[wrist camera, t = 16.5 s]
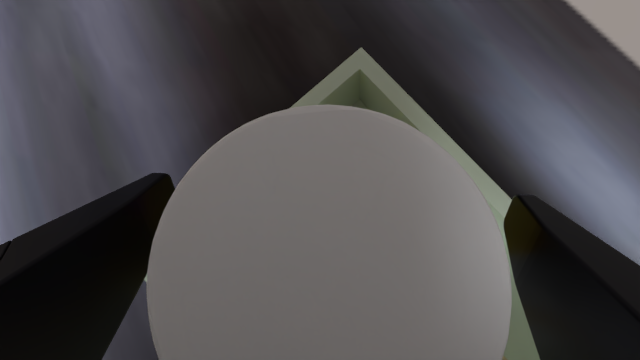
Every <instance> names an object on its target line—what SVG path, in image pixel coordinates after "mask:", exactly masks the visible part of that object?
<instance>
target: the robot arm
mask: <svg viewBox="0 0 640 360" xmlns="http://www.w3.org/2000/svg"><path fill="white" fill-rule="evenodd" d="M174 191H175V188H174V185H173V182H172V179H171V177H170V176H169V175H168V174H166V173H152V174H149V175H147V176H145V177H143V178H141V179H139V180H137V181H135V182H133V183H130V184H128V185H126V186H124V187H122V188H120V189H118V190H116V191H114V192H111V193H109V194H107V195H105V196H103V197H101V198H99V199H97V200H95V201H92V202H90V203H88V204H86V205H84V206H82V207H80V208H78V209H76V210H73V211H71V212H69V213H67V214H65V215H63V216H61V217H59V218H57V219H54V220H52V221H50V222H48V223H46V224H44V225H42V226H40V227H38V228H35V229H33V230H31V231H29V232H27V233H25V234H23V235H21V236H19V237H16V238H14V239H13V240H12V241H8V242H6V243H4V244H1V245H0V360H102V358H103V356H104V354H105V352H106V350H107V349H108V347H109V345H110V343H111V341H112V339H113V337H114V335H115V333H116V332H117V330H118V328H119V326H120V324H121V322H122V320H123V318H124V316H125V315H126V313H127V311H128V309H129V307H130V305H131V303H132V301H133V299H134V297H135V296H136V294H137V292H138V290H139V288H140V286H141V284H142V282H143V280H144V279H145V277H146V275H147V271H148V264H149V257H150V252H151V247H152V242H153V238H154V236H155V233H156V230H157V227H158V224H159V221H160V219H161V216H162V214H163V211H164V209H165V207H166V205H167V203H168V201H169V199H170V198H171V196H172V194H173V192H174ZM503 225H504V232H505V237H506V242H507V247H508V253H509V258H510V263H511V268H512V273H513V277H514V281H515V285H516V288H517V292H518V295H519V298H520V301H521V304H522V307H523V310H524V313H525V316H526V319H527V322H528V325H529V328H530V331H531V334H532V337H533V340H534V343H535V346H536V349H537V352H538V355H539V358H540V360H640V265H638V264H637V263H635V262H634V261H632V260H631V259H629V258H628V257H626V256H625V255H623V254H622V253H620V252H619V251H617V250H616V249H614V248H613V247H611V246H610V245H608V244H607V243H605V242H604V241H602V240H601V239H599V238H598V237H596V236H595V235H593V234H592V233H590V232H589V231H587V230H586V229H584V228H583V227H581V226H580V225H578V224H577V223H575V222H574V221H572V220H571V219H569V218H568V217H566V216H565V215H563V214H562V213H560V212H558V211H557V210H555V209H554V208H552V207H551V206H549V205H548V204H546V203H545V202H543V201H542V200H540V199H539V198H537V197H536V196H534V195H521V194H517V195H515V196H514V197H513V199H512V201H511V203H510V206H509V208H508V211H507V213H506V216H505V218H504V224H503Z"/></svg>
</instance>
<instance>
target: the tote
mask: <svg viewBox="0 0 640 360" xmlns="http://www.w3.org/2000/svg"><path fill="white" fill-rule="evenodd" d="M328 104H329V105H342V106H352V107H357V108H363V109H369V110H372V111H376V112H379V113H383V114H386V115H388V116H391V117H393V118H396V119H398V120H401V121H403V122H405V123H407V124H408V125H410V126H412V127H413V128H415V129H417V130H419V131H420V132H422V133H424V134H425V135H427V136H429V137H430V138H431V139H432V140H434V141H435V142H436V143H437V144H439V145H440V146H441V147H442V148H444V149H445V150H446V151H447V152H448V153H449V154H450V155H451V156H452V157H453V158H454V159H455V160H456V161H457V162H458V163H459V164H460V165H461V166H462V168H463V169H464V170H465V171H466V172H467V173H468V174H469V176H470V177H471V178H472V179H473V180H474V182H475V183H476V185H477V186H478V188H479V189H480V191H481V192H482V194H483V196H484V197H485V199H486V201H487V203H488V205H489V207H490V209H491V211H492V213H493V215H494V217H495V219H496V221H497V224H498V226H499V229H500V231H501V235H502V238H503V242H504V246H505V250H506V254H507V259H508V263H509V268H510V277H511V287H512V307H511V317H510V326H509V335H508V341H507V344H506V348H505V351H504V355H503V356H504V357H505V358H507V359H508V360H540V358H539V355H538V352H537V349H536V346H535V343H534V340H533V337H532V334H531V331H530V328H529V325H528V322H527V319H526V316H525V313H524V310H523V307H522V304H521V301H520V298H519V295H518V292H517V288H516V285H515V281H514V277H513V273H512V268H511V263H510V258H509V253H508V247H507V242H506V237H505V232H504V225H503V224H504V218H505V216H506V213H507V211H508V208H509V206H510V203H511V201H512V199H511V198H510V197H509V196H508V195H507V194H506V193H505V192H504V191H503V190H502V189H501V188H500V187H499V186H498V185H497V184H496V183H495V182H494V181H493V180H492V179H491V178H490V177H489V176H488V175H487V174H486V173H485V172H484V171H483V170H482V169H481V168H480V167H479V166H478V165H477V164H476V163H475V162H474V161H473V160H472V159H471V158H470V157H469V156H468V155H467V154H466V153H465V152H464V151H463V150H462V149H461V148H460V147H459V146H458V145H457V144H456V143H455V142H454V141H453V140H452V139H451V137H450V136H449V135H448V134H447V133H446V132H445V131H444V130H443V129H442V128H441V127H440V126H439V125H438V124H437V123H436V122H435V121H434V120H433V119H432V118H431V117H430V116H429V115H428V114H427V113H426V112H425V111H424V110H423V109H422V108H421V107H420V106H419V105H418V104H417V103H416V102H415V101H414V100H413V99H412V98H411V97H410V96H409V95H408V94H407V93H406V92H405V91H404V90H403V89H402V88H401V87H400V86H399V85H398V84H397V83H396V82H395V81H394V80H393V79H392V78H391V77H390V76H389V75H388V74H387V73H386V72H385V71H384V70H383V69H382V68H381V67H380V66H379V65H378V64H377V63H376V62H375V61H374V59H373V58H372V57H371V56H370V55H369V54H368V53H367V52H366V51H365V50H364V49H363V48H362V47H361V48H360V49H358V50H357V51H356V52H355V53H354V54H353V55H351V56H350V57H349V58H348V59H347V60H346V61H344V62H343V63H342V64H341V65H340V66H338V67H337V68H336V69H335V70H334V71H333V72H331V73H330V74H329V75H328V76H327V77H326V78H324V79H323V80H322V81H321V82H320V83H319V84H317V85H316V86H315V87H314V88H313V89H311V90H310V91H309V92H308V93H307V94H306V95H304V96H303V97H302V98H301V99H300V100H299V101H297V102H296V103H295V104H294V105H293V106H291V107H290V108H294V107H300V106H311V105H328ZM290 108H289V109H290ZM144 280H145V281H146V283H147V275H146V277H145V279H144Z"/></svg>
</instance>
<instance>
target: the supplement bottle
mask: <svg viewBox="0 0 640 360" xmlns="http://www.w3.org/2000/svg"><path fill="white" fill-rule="evenodd" d="M147 304H148V317H149V324H150V329H151V334H152V338H153V343H154V346H155V349H156V353H157V356H158V359H159V360H502V358H503V355H504V351H505V348H506V344H507V341H508V335H509V326H510V317H511V307H512V287H511V277H510V268H509V263H508V259H507V254H506V250H505V246H504V242H503V238H502V235H501V231H500V229H499V226H498V224H497V221H496V219H495V217H494V215H493V213H492V211H491V209H490V207H489V205H488V203H487V201H486V199H485V197H484V196H483V194H482V192H481V191H480V189H479V188H478V186H477V185H476V183H475V182H474V180H473V179H472V178H471V177H470V176H469V174H468V173H467V172H466V171H465V170H464V169H463V168H462V166H461V165H460V164H459V163H458V162H457V161H456V160H455V159H454V158H453V157H452V156H451V155H450V154H449V153H448V152H447V151H446V150H445V149H444V148H442V147H441V146H440V145H439V144H437V143H436V142H435V141H434V140H432V139H431V138H430V137H429V136H427V135H425V134H424V133H422V132H420V131H419V130H417V129H415V128H413V127H412V126H410V125H408V124H407V123H405V122H403V121H401V120H398V119H396V118H393V117H391V116H388V115H386V114H383V113H379V112H376V111H372V110H369V109H363V108H357V107H352V106H342V105H329V104H328V105H311V106H300V107H294V108H290V109H286V110H282V111H278V112H274V113H270V114H267V115H265V116H262V117H259V118H257V119H255V120H252V121H250V122H248V123H246V124H244V125H242V126H241V127H239V128H237V129H235V130H234V131H232V132H231V133H229V134H228V135H226V136H225V137H223V138H222V139H221V140H219V141H218V142H217V143H216V144H214V145H213V146H212V147H210V148H209V149H208V150H207V151H206V152H205V153H204V154H203V155H202V156H201V157H200V158H199V159H198V160H197V162H196V163H195V164H194V165H193V166H192V167H191V168H190V169H189V171H188V172H187V173H186V174H185V176H184V177H183V178H182V180H181V181H180V182H179V184H178V185H177V187H176V189H175V191H174V192H173V194H172V196H171V198H170V199H169V201H168V203H167V205H166V207H165V209H164V211H163V214H162V216H161V219H160V221H159V224H158V227H157V230H156V233H155V236H154V238H153V242H152V247H151V252H150V257H149V264H148V271H147Z"/></svg>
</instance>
